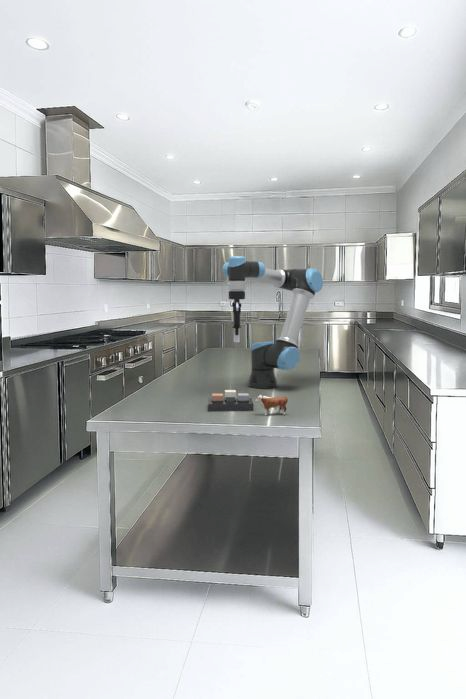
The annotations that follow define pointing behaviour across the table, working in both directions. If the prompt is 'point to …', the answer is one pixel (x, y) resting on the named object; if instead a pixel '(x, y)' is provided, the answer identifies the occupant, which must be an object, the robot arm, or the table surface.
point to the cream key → (230, 395)
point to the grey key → (243, 397)
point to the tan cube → (217, 397)
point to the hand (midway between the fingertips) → (236, 341)
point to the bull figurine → (272, 403)
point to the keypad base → (230, 405)
